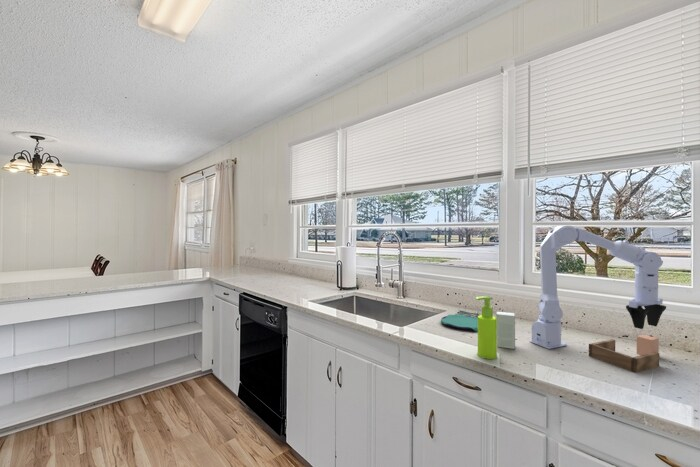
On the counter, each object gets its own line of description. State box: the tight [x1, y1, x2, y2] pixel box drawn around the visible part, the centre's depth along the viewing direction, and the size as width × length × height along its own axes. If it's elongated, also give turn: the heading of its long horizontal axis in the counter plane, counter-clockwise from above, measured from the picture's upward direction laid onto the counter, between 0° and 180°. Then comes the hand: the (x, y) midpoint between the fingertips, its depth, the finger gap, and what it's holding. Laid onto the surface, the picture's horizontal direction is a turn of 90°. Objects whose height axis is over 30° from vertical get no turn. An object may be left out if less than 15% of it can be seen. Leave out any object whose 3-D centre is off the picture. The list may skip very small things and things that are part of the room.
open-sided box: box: [588, 338, 660, 373], centre depth 101 cm, size 12×13×4 cm
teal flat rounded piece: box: [440, 309, 482, 333], centre depth 144 cm, size 20×30×2 cm, turn 144°
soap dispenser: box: [474, 295, 498, 360], centre depth 106 cm, size 6×7×20 cm
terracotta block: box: [636, 334, 660, 356], centre depth 106 cm, size 4×4×6 cm
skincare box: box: [496, 311, 516, 350], centre depth 114 cm, size 6×4×12 cm
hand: (645, 326), depth 106 cm, fingers open, 7 cm apart
